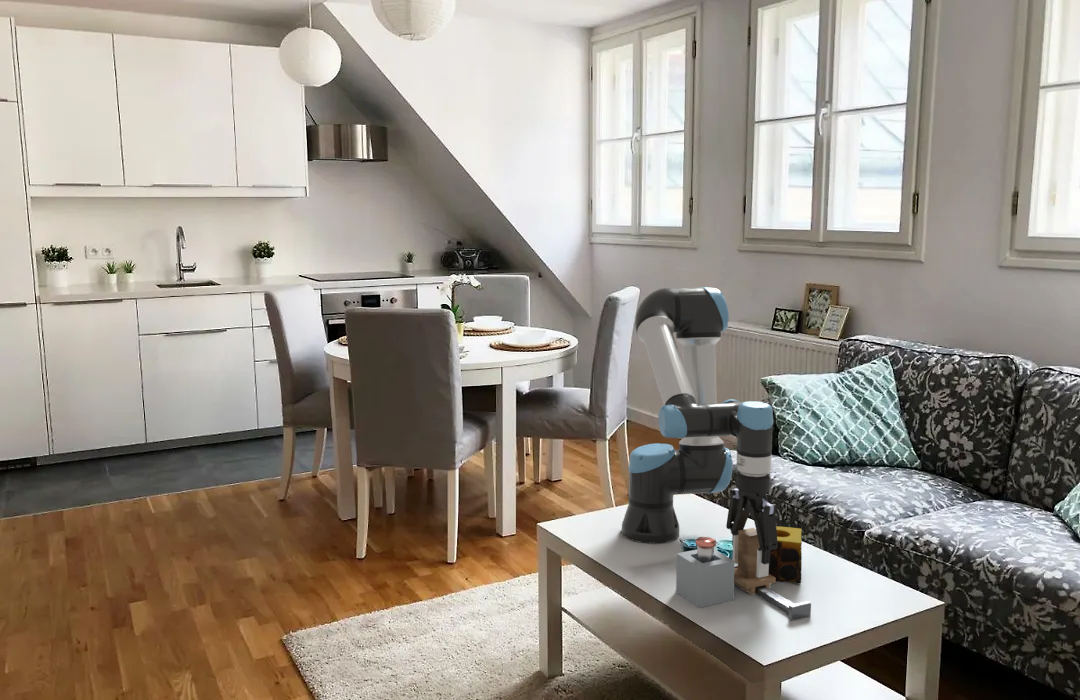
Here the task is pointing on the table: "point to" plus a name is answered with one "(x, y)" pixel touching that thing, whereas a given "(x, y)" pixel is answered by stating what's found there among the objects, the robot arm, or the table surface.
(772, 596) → the rail
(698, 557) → the plunger
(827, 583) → the table surface
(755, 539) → the carriage
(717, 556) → the housing
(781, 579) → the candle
